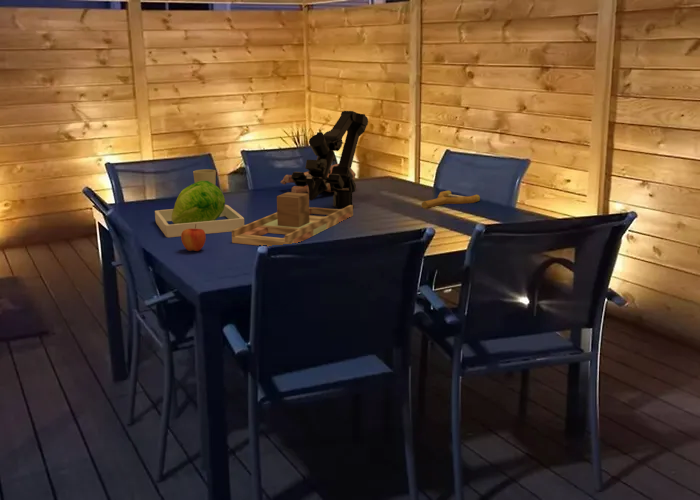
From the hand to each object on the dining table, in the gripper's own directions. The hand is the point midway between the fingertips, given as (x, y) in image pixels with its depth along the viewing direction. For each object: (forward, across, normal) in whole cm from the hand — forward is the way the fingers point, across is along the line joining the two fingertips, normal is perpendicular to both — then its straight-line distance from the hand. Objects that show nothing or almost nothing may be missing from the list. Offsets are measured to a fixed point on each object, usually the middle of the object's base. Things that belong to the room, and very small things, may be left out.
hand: (310, 199), depth 272 cm
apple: (+40, -16, -30) cm, 52 cm away
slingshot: (-28, +34, +41) cm, 60 cm away
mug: (-10, -59, +21) cm, 63 cm away
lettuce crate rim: (+19, -34, -8) cm, 40 cm away
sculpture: (-33, -22, +46) cm, 60 cm away
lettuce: (+20, -34, -8) cm, 40 cm away
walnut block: (+14, 0, -5) cm, 15 cm away
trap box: (+13, 0, -2) cm, 14 cm away
